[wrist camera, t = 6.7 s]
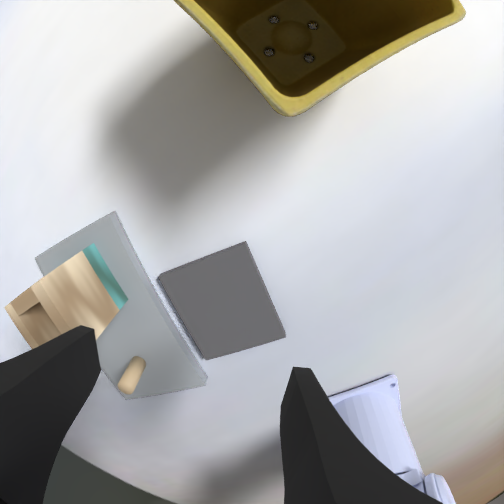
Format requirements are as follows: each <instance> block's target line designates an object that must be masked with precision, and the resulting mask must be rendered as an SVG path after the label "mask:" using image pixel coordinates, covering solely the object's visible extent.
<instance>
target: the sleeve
mask: <svg viewBox="0 0 504 504" xmlns="http://www.w3.org/2000/svg"><path fill="white" fill-rule="evenodd" d="M127 301H128V298H127V296H126V295H125V293H124V292H123V290H122V288H121V287H120V285H119V284H118V282H117V281H116V279H115V277H114V276H113V274H112V273H111V271H110V269H109V268H108V266H107V265H106V263H105V261H104V260H103V258H102V256H101V254H100V253H99V251H98V249H97V248H96V246H95V244H94V243H93V244H91V245H90V246H88V247H87V248H85V249H84V250H82V251H80V252H79V253H77V254H76V255H75V256H73V257H72V258H70V259H69V260H67V261H66V262H64V263H63V264H61V265H60V266H58V267H57V268H56V269H54V270H53V271H51V272H50V273H49V274H47V275H46V276H44V277H43V278H42V279H40V280H39V281H37V282H36V283H35V284H33V285H32V286H31V287H30V288H28V289H27V290H26V291H24V292H23V293H22V294H21V295H19V296H18V297H17V298H15V299H14V300H13V301H12V302H10V303H9V304H8V305H7V306H6V307H4V308H5V310H6V311H7V313H8V314H9V316H10V317H11V319H12V321H13V322H14V324H15V325H16V327H17V328H18V330H19V331H20V333H21V334H22V336H23V337H24V338H25V340H26V341H27V343H28V344H29V345H30V347H31V348H32V349H34V348H36V347H38V346H40V345H42V344H44V343H46V342H48V341H50V340H52V339H54V338H56V337H58V336H59V335H61V334H63V333H65V332H67V331H69V330H71V329H73V328H75V327H77V326H80V325H83V326H86V327H89V328H93V329H94V330H95V337H96V340H97V339H98V337H99V336H100V335H101V333H102V332H103V331H104V330H105V328H106V327H107V326H108V324H109V323H110V322H111V321H112V319H113V318H114V317H115V316H116V314H117V313H118V312H119V311H120V309H121V308H122V307H123V306H124V304H125V303H126V302H127Z"/></svg>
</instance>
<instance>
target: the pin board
mask: <svg viewBox="0 0 504 504" xmlns="http://www.w3.org/2000/svg"><path fill="white" fill-rule="evenodd" d="M93 243H94V244H95V246H96V248H97V249H98V251H99V253H100V254H101V256H102V258H103V260H104V261H105V263H106V265H107V266H108V268H109V269H110V271H111V273H112V274H113V276H114V277H115V279H116V281H117V282H118V284H119V285H120V287H121V288H122V290H123V292H124V293H125V295H126V296H127V298H128V301H127V302H126V303H125V304H124V306H123V307H122V308H121V309H120V311H119V312H118V313H117V314H116V316H115V317H114V318H113V319H112V321H111V322H110V323H109V324H108V326H107V327H106V328H105V330H104V331H103V332H102V333H101V335H100V336H99V337H98V339H97V340H96V344H97V350H98V356H99V362H100V367H101V369H102V370H103V371H104V373H105V374H106V375H107V377H108V378H109V379H110V381H111V382H112V383H113V384H114V386H115V387H116V388H117V389H118V391H119V392H120V393H121V394H122V396H123V397H124V398H125V399H126V400H128V399H135V398H142V397H148V396H154V395H160V394H166V393H171V392H177V391H182V390H187V389H192V388H196V387H201V386H206V381H207V375H206V374H205V372H204V371H203V369H202V368H201V366H200V365H199V363H198V361H197V360H196V358H195V357H194V355H193V354H192V352H191V350H190V349H189V347H188V345H187V344H186V342H185V341H184V339H183V337H182V336H181V334H180V332H179V331H178V329H177V327H176V326H175V324H174V322H173V320H172V319H171V317H170V315H169V314H168V312H167V310H166V308H165V307H164V305H163V303H162V301H161V299H160V298H159V296H158V294H157V292H156V290H155V289H154V287H153V285H152V283H151V281H150V279H149V277H148V276H147V274H146V272H145V270H144V268H143V266H142V264H141V262H140V260H139V258H138V256H137V254H136V252H135V250H134V248H133V246H132V244H131V242H130V240H129V238H128V236H127V234H126V232H125V230H124V228H123V226H122V224H121V222H120V220H119V217H118V215H117V213H116V211H114V212H112V213H110V214H108V215H106V216H104V217H102V218H101V219H99V220H97V221H95V222H94V223H92V224H90V225H88V226H86V227H85V228H83V229H81V230H80V231H78V232H76V233H74V234H73V235H71V236H69V237H68V238H66V239H64V240H63V241H61V242H59V243H58V244H56V245H54V246H53V247H51V248H50V249H48V250H46V251H45V252H43V253H42V254H40V255H39V256H37V257H35V260H36V262H37V264H38V266H39V268H40V270H41V272H42V274H43V276H46V275H47V274H49V273H50V272H51V271H53V270H54V269H56V268H57V267H58V266H60V265H61V264H63V263H64V262H66V261H67V260H69V259H70V258H72V257H73V256H75V255H76V254H77V253H79V252H80V251H82V250H84V249H85V248H87V247H88V246H90V245H91V244H93Z"/></svg>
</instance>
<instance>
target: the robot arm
mask: <svg viewBox="0 0 504 504" xmlns="http://www.w3.org/2000/svg"><path fill="white" fill-rule="evenodd" d="M100 371H101V367H100V362H99V356H98V350H97V344H96V337H95V330H94V329H93V328H89V327H86V326H83V325H80V326H77V327H75V328H73V329H71V330H69V331H67V332H65V333H63V334H61V335H59V336H58V337H56V338H54V339H52V340H50V341H48V342H46V343H44V344H42V345H40V346H38V347H36V348H34V349H32V350H30V351H28V352H25V353H23V354H21V355H19V356H17V357H15V358H12V359H10V360H7V361H5V362H2V363H0V504H43V498H44V494H45V490H46V486H47V483H48V479H49V475H50V472H51V469H52V467H53V464H54V461H55V458H56V456H57V453H58V451H59V448H60V446H61V443H62V441H63V439H64V437H65V435H66V433H67V431H68V430H69V428H70V426H71V425H72V423H73V421H74V420H75V418H76V416H77V415H78V413H79V411H80V410H81V408H82V407H83V405H84V403H85V402H86V400H87V398H88V397H89V395H90V393H91V392H92V390H93V387H94V385H95V383H96V381H97V378H98V376H99V374H100ZM280 437H281V449H282V460H283V471H284V486H285V496H284V504H456V503H455V500H454V498H453V495H452V493H451V491H450V489H449V487H448V485H447V483H446V481H445V479H444V478H443V476H441V475H435V474H434V473H431V474H429V475H427V476H425V475H424V474H423V472H422V469H421V466H420V463H419V461H418V458H417V455H416V453H415V450H414V447H413V445H412V442H411V440H410V437H409V434H408V432H407V429H406V427H405V424H404V422H403V419H402V414H401V404H400V396H399V388H398V380H397V377H396V375H389V376H387V377H384V378H382V379H379V380H377V381H374V382H372V383H369V384H366V385H363V386H361V387H358V388H355V389H352V390H349V391H347V392H344V393H341V394H338V395H334V396H331V397H327V395H326V394H325V392H324V390H323V389H322V387H321V385H320V384H319V382H318V380H317V378H316V377H315V375H314V373H313V371H312V370H311V369H310V368H301V367H293V369H292V372H291V375H290V379H289V382H288V385H287V388H286V391H285V395H284V398H283V401H282V404H281V415H280Z"/></svg>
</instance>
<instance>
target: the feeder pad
mask: <svg viewBox="0 0 504 504" xmlns="http://www.w3.org/2000/svg"><path fill="white" fill-rule="evenodd" d="M158 278H159V279H160V281H161V283H162V285H163V287H164V289H165V291H166V292H167V294H168V296H169V298H170V300H171V302H172V303H173V305H174V307H175V309H176V310H177V312H178V314H179V316H180V318H181V319H182V321H183V323H184V324H185V326H186V328H187V330H188V331H189V333H190V335H191V336H192V338H193V340H194V341H195V343H196V345H197V346H198V348H199V350H200V351H201V353H202V355H203V356H204V358H205V359H206V360H209V359H213V358H217V357H221V356H224V355H228V354H231V353H235V352H239V351H242V350H246V349H249V348H252V347H256V346H259V345H262V344H266V343H269V342H272V341H275V340H278V339H282V338H285V337H286V334H285V330H284V328H283V326H282V323H281V321H280V319H279V316H278V314H277V312H276V310H275V307H274V305H273V303H272V300H271V298H270V296H269V293H268V291H267V289H266V286H265V284H264V282H263V280H262V277H261V275H260V273H259V270H258V268H257V266H256V263H255V261H254V259H253V256H252V254H251V252H250V249H249V247H248V245H247V243H246V241H244V242H242V243H239V244H237V245H234V246H231V247H229V248H226V249H224V250H221V251H218V252H216V253H213V254H211V255H208V256H205V257H203V258H200V259H198V260H195V261H192V262H190V263H187V264H185V265H182V266H180V267H177V268H174V269H172V270H169V271H167V272H164V273H162V274H161V275H160V276H159V277H158Z"/></svg>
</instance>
